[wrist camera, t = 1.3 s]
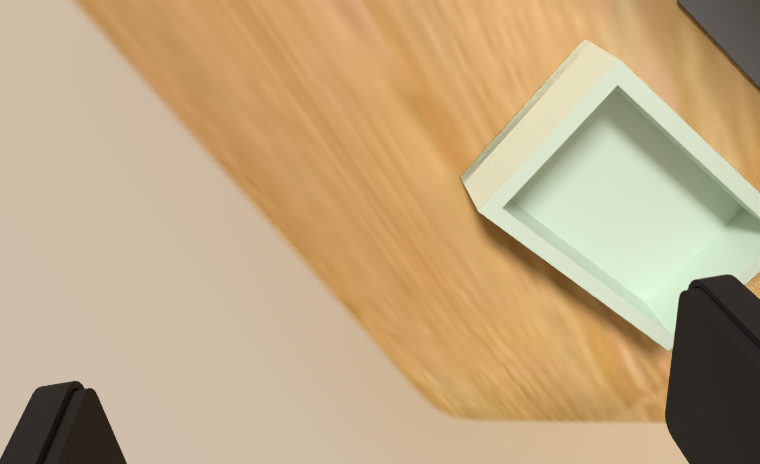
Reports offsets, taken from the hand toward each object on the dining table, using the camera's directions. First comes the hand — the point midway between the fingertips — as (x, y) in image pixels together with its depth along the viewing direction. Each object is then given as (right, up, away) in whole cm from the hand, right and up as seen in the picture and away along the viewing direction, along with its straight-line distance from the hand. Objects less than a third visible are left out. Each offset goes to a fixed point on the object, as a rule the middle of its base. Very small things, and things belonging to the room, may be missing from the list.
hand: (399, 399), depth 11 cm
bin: (+12, +5, +26) cm, 29 cm away
